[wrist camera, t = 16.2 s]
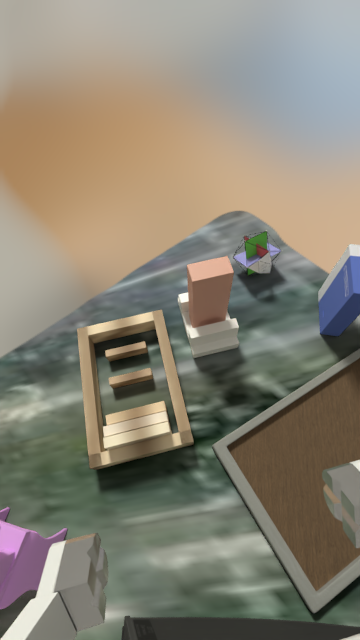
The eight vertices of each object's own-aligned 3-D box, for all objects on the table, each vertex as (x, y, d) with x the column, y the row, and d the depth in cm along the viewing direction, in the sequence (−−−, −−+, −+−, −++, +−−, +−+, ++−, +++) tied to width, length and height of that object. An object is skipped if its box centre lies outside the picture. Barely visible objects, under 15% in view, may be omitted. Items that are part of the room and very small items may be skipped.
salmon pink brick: (193, 330, 47) (192, 281, 36) (189, 316, 49) (187, 264, 37) (224, 323, 48) (233, 272, 36) (220, 309, 49) (227, 255, 37)
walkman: (338, 336, 48) (379, 294, 37) (319, 334, 48) (354, 291, 37) (335, 293, 51) (372, 243, 40) (318, 291, 51) (349, 241, 41)
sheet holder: (193, 358, 47) (193, 346, 43) (178, 303, 52) (176, 288, 48) (237, 347, 47) (241, 334, 43) (218, 293, 52) (220, 278, 48)
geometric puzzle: (221, 245, 54) (242, 237, 46) (254, 229, 55) (279, 220, 48) (237, 283, 56) (259, 282, 48) (268, 267, 57) (295, 263, 49)
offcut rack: (96, 469, 40) (84, 467, 36) (83, 337, 49) (72, 322, 45) (193, 444, 41) (193, 439, 37) (163, 318, 50) (160, 302, 46)
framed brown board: (211, 445, 40) (380, 334, 46) (211, 446, 42) (375, 338, 48) (314, 616, 32) (502, 454, 38) (308, 610, 34) (491, 455, 40)
